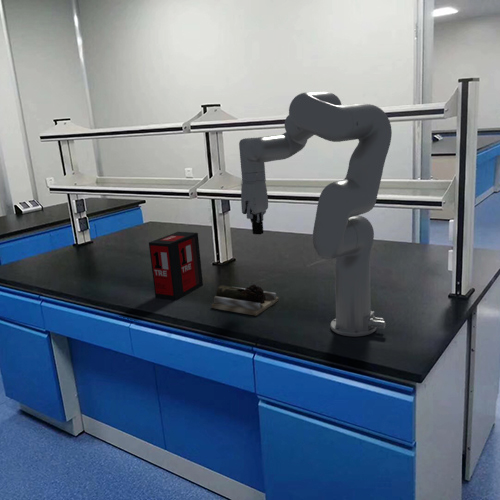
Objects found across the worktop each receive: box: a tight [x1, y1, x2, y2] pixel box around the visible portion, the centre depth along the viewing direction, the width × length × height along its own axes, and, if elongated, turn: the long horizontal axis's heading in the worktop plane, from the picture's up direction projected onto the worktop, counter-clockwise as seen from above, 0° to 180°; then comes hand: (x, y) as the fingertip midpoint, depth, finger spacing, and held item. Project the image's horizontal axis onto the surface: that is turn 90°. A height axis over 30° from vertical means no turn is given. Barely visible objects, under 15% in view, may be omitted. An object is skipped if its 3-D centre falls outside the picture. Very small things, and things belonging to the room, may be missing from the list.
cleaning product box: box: [148, 231, 204, 301], centre depth 180 cm, size 16×9×20 cm, turn 151°
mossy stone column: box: [215, 284, 266, 304], centre depth 164 cm, size 18×7×6 cm, turn 53°
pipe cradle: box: [211, 286, 280, 317], centre depth 165 cm, size 17×14×3 cm
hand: (258, 233), depth 165 cm, fingers closed
